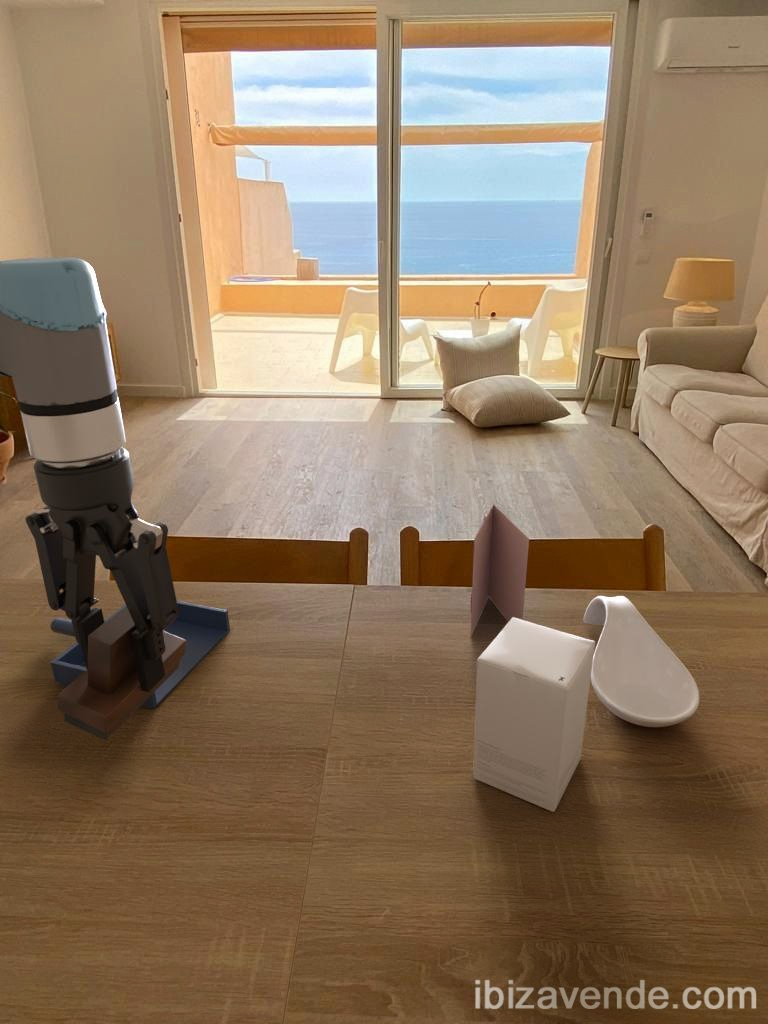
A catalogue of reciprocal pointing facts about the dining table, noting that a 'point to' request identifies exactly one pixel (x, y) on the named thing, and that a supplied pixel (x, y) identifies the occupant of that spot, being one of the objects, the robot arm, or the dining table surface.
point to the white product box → (531, 711)
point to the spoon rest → (637, 668)
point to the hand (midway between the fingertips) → (126, 676)
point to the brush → (113, 678)
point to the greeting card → (499, 567)
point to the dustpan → (191, 625)
